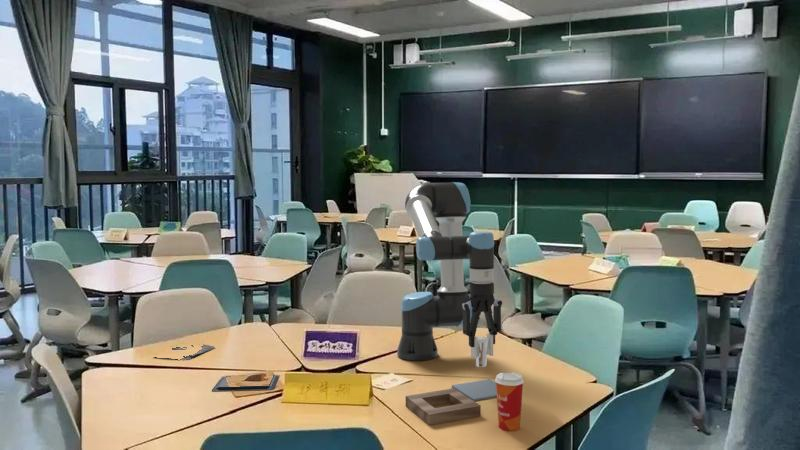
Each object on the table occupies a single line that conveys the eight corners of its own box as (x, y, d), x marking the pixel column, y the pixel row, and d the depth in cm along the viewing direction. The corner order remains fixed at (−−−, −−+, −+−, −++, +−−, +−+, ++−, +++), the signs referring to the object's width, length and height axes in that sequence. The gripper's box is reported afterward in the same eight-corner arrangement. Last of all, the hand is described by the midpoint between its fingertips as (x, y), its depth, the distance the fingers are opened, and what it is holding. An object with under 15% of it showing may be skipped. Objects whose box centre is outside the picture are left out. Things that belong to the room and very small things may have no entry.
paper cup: (491, 422, 175) (491, 372, 174) (519, 420, 175) (519, 371, 174) (498, 433, 167) (498, 381, 166) (527, 432, 168) (527, 380, 167)
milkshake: (490, 368, 196) (490, 336, 196) (473, 367, 197) (473, 335, 197) (491, 364, 201) (491, 333, 200) (474, 363, 202) (474, 332, 201)
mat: (451, 386, 204) (451, 385, 204) (489, 380, 209) (489, 379, 209) (473, 401, 191) (473, 399, 191) (513, 394, 196) (513, 392, 196)
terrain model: (186, 363, 236) (186, 354, 236) (153, 359, 241) (152, 351, 241) (219, 348, 255) (218, 340, 255) (187, 345, 260) (187, 338, 260)
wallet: (209, 388, 202) (222, 373, 217) (210, 393, 202) (222, 378, 217) (273, 386, 202) (281, 371, 218) (273, 392, 203) (281, 377, 218)
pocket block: (405, 405, 188) (405, 395, 187) (453, 397, 194) (453, 388, 194) (429, 425, 173) (429, 414, 173) (480, 415, 179) (480, 405, 179)
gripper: (462, 285, 190) (462, 362, 192) (513, 281, 197) (513, 355, 199) (450, 282, 197) (450, 356, 199) (500, 278, 204) (500, 349, 206)
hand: (482, 355), depth 199 cm, fingers closed on milkshake, 5 cm apart
